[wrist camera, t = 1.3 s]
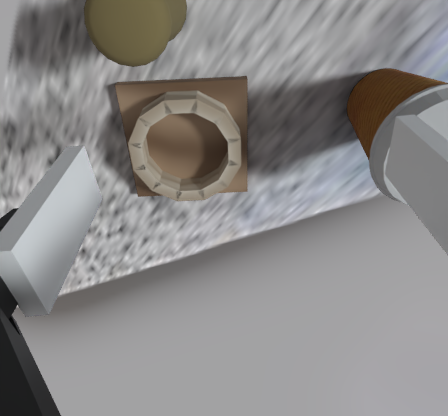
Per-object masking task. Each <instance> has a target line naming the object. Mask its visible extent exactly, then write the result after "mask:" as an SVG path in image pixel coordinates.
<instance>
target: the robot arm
mask: <svg viewBox="0 0 448 416" xmlns="http://www.w3.org/2000/svg"><path fill="white" fill-rule="evenodd" d="M385 175H386V177H387V178H388V179H389V180H390V182H391V183H392V184H393V186H394V187H395V188H396V189H397V191H398V192H399V193H400V195H401V196H402V197H403V198H404V200H405V201H406V202H407V203H408V205H409V206H410V207H411V208H412V210H413V211H414V212H415V214H416V215H417V216H418V218H419V219H420V220H421V221H422V223H423V224H424V225H425V226H426V228H427V229H428V230H429V232H430V233H431V234H432V235H433V237H434V238H435V239H436V241H437V242H438V243H439V244H440V246H441V247H442V248H443V250H444V251H445V252H446V253H447V255H448V140H446V139H445V138H444V137H443V136H441V135H440V134H439V133H438V132H436V131H435V130H434V129H433V128H431V127H430V126H429V125H427V124H426V123H425V122H424V121H422V120H421V119H420V118H419V117H417V116H416V115H404V116H396V119H395V124H394V129H393V134H392V139H391V144H390V149H389V154H388V159H387V164H386V169H385ZM101 201H102V196H101V193H100V190H99V187H98V184H97V181H96V178H95V175H94V173H93V170H92V167H91V164H90V161H89V158H88V155H87V152H86V150H85V147H84V145H82V146H71V147H66V148H65V149H64V151H63V152H62V153H61V155H60V156H59V157H58V158H57V160H56V161H55V162H54V164H53V165H52V166H51V167H50V169H49V170H48V171H47V173H46V174H45V175H44V176H43V178H42V179H41V180H40V182H39V183H38V184H37V185H36V187H35V188H34V189H33V190H32V192H31V193H30V194H29V196H28V197H27V198H26V199H25V201H24V202H23V203H22V205H21V206H20V207H19V208H16V209H13V210H11V211H10V212H8V213H7V214H6V215H4V216H3V217H1V219H0V416H61V415H60V413H59V411H58V409H57V406H56V404H55V402H54V400H53V398H52V396H51V394H50V392H49V390H48V388H47V385H46V383H45V381H44V379H43V377H42V375H41V373H40V371H39V369H38V367H37V365H36V363H35V360H34V358H33V356H32V354H31V352H30V350H29V348H28V346H27V344H26V341H25V339H24V337H23V335H22V333H21V331H20V329H19V327H18V325H17V323H16V321H15V319H14V318H13V317H12V313H13V312H14V310H15V308H16V306H17V305H18V306H19V308H20V309H21V311H22V312H23V314H24V315H25V317H29V316H41V315H49V313H50V311H51V309H52V307H53V305H54V303H55V301H56V298H57V296H58V294H59V292H60V290H61V288H62V286H63V283H64V281H65V279H66V277H67V275H68V273H69V270H70V268H71V266H72V264H73V262H74V260H75V257H76V255H77V253H78V251H79V249H80V247H81V244H82V242H83V240H84V238H85V236H86V234H87V231H88V229H89V227H90V225H91V223H92V221H93V219H94V216H95V214H96V212H97V210H98V208H99V206H100V203H101Z"/></svg>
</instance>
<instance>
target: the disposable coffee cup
mask: <svg viewBox="0 0 448 416" xmlns="http://www.w3.org/2000/svg"><path fill="white" fill-rule="evenodd" d="M347 114H348V117H349V120H350V122H351V124H352V126H353V128H354V130H355V132H356V134H357V136H358V138H359V140H360V142H361V145H362V147H363V149H364V151H365V153H366V155H367V157H368V160H369V167H370V172H371V176H372V178H373V180H374V182H375V184H376V186H377V188H378V189H379V190H380V191H381V192H382V193H383V194H385V195H386V196H388V197H389V198H391V199H393V200H396V201H399V202H402V203H404V204H406V205H408V203H407V202H406V201H405V200H404V198H403V197H402V196H401V195H400V193H399V192H398V191H397V189H396V188H395V187H394V186H393V184H392V183H391V182H390V180H389V179H388V178H387V177H386V175H385V169H386V164H387V159H388V154H389V149H390V144H391V139H392V134H393V129H394V124H395V119H396V116H404V115H416V116H417V117H419V118H420V119H421V120H422V121H424V122H425V123H426V124H427V125H429V126H430V127H431V128H433V129H434V130H435V131H436V132H438V133H439V134H440V135H441V136H443V137H444V138H445V139H446V140H448V83H445V82H442V81H437V80H434V79H430V78H426V77H422V76H419V75H414V74H411V73H407V72H403V71H399V70H396V69H389V68H385V69H380V70H377V71H374V72H372V73H370V74H368V75H367V76H365V77H364V78H363V79H361V80H360V81H359V82H358V83H357V85H356V86H355V87H354V89H353V90H352V92H351V94H350V97H349V99H348V103H347Z"/></svg>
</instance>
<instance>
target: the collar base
mask: <svg viewBox="0 0 448 416" xmlns="http://www.w3.org/2000/svg"><path fill="white" fill-rule="evenodd" d="M115 88H116V93H117V98H118V103H119V107H120V112H121V117H122V122H123V127H124V131H125V136H126V141H127V146H128V151H129V155H130V160H131V165H132V170H133V175H134V179H135V184H136V189H137V194H138V197H139V196H161V195H163V196H166V197H168V198H171V199H173V200H176V201H192V200H205V199H207V198H209V197H211V196H213V195H214V194H216V193H226V192H247V76H242V77H220V78H198V79H176V80H154V81H132V82H117V83H116V84H115Z"/></svg>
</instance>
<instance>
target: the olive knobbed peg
mask: <svg viewBox="0 0 448 416" xmlns="http://www.w3.org/2000/svg"><path fill="white" fill-rule="evenodd" d="M186 10H187V5H186V0H86V3H85V7H84V16H85V25H86V28H87V31H88V34H89V37H90V39H91V40H92V42H93V43H94V45H95V46H96V48H97V49H98V50H99V51H100V52H101V53H102V54H103V55H104V56H106V57H107V58H108V59H110V60H112V61H114V62H116V63H118V64H120V65H126V66H132V67H135V66H141V65H146V64H148V63H150V62H152V61H153V60H155V59H157V58H158V57H159V55H160V54H161V53H162V52H163V51H164V50H165V48H166V45H167V43H168V41H170V40H172V39H174V38H175V37H176V35H177V34H178V33H179V32H180V31H181V29H182V27H183V24H184V22H185V19H186Z"/></svg>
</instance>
